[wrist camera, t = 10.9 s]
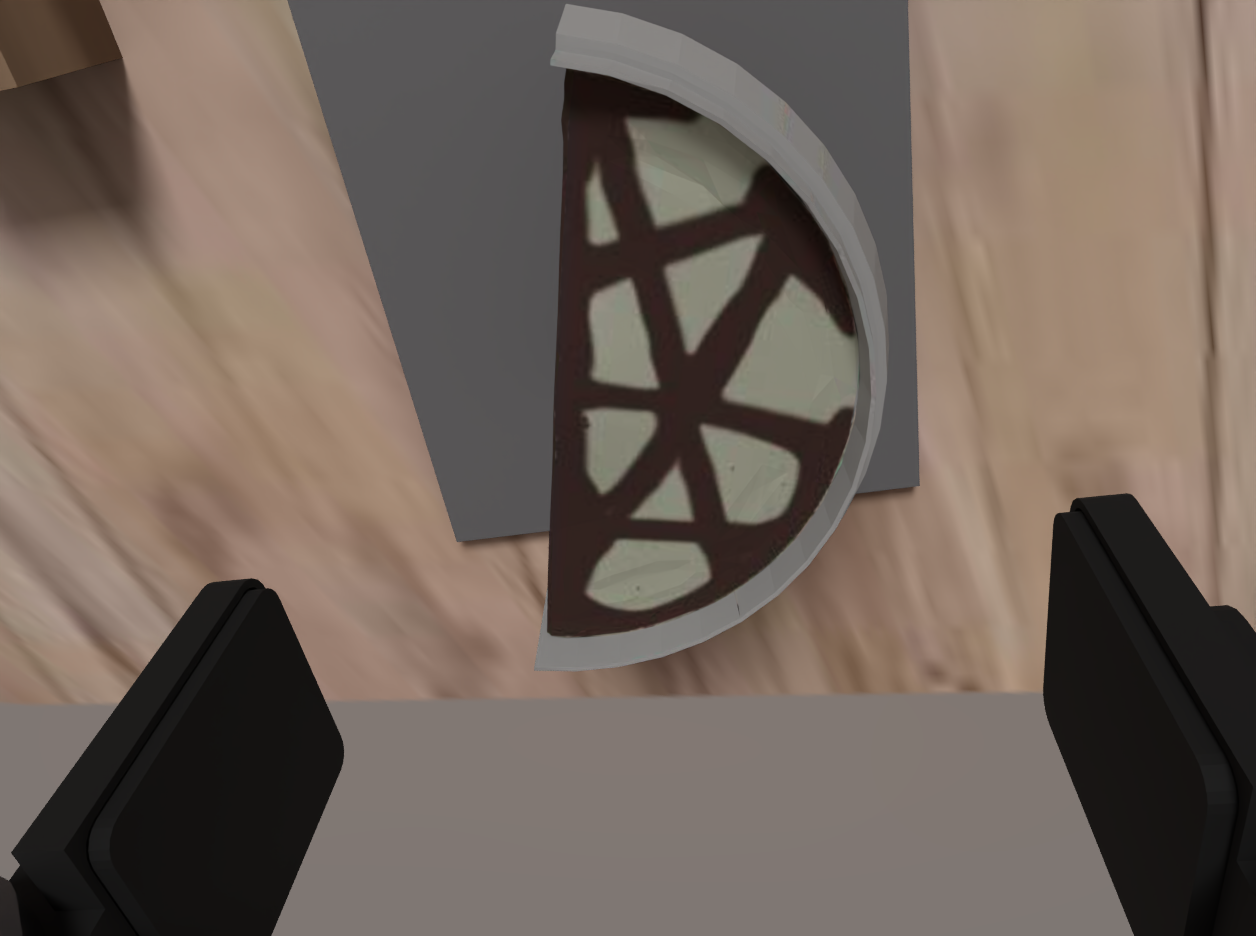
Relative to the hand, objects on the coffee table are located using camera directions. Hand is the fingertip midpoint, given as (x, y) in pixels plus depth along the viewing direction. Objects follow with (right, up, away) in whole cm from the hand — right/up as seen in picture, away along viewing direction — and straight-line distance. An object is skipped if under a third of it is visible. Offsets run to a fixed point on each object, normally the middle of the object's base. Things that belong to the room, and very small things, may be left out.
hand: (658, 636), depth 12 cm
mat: (0, +8, +14) cm, 16 cm away
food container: (+2, +8, +13) cm, 16 cm away
